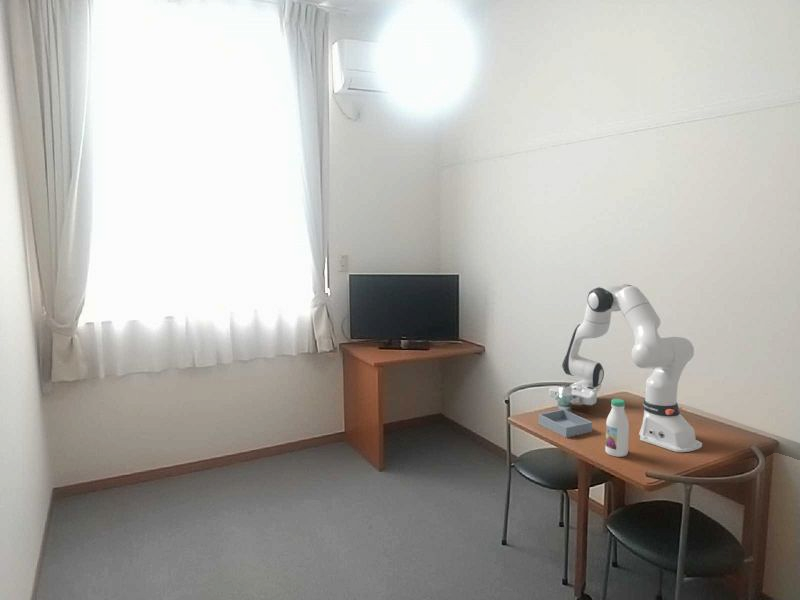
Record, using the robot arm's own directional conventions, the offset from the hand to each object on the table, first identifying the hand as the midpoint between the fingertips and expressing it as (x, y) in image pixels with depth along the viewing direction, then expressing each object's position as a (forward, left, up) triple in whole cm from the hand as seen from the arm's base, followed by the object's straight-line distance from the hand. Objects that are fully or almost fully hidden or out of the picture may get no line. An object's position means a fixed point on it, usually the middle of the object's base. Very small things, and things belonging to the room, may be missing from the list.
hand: (563, 399), depth 243 cm
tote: (-13, +10, -7) cm, 18 cm away
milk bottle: (-41, +10, -7) cm, 42 cm away
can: (0, -1, -7) cm, 7 cm away
